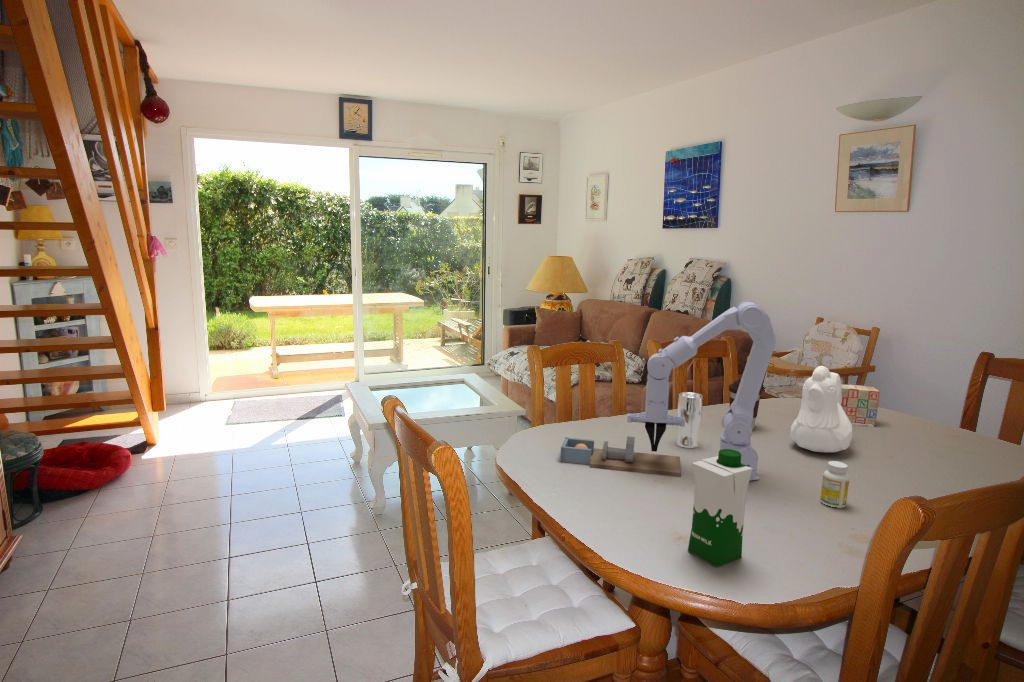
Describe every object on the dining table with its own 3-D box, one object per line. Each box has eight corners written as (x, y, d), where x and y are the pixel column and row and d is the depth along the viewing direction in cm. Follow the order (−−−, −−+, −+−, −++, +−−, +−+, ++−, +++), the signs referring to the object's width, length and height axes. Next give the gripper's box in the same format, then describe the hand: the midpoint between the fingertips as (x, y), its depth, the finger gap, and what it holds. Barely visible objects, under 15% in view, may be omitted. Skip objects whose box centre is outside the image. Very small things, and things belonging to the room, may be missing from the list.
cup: (593, 453, 170) (594, 440, 169) (590, 464, 162) (591, 450, 161) (564, 451, 172) (565, 437, 171) (560, 461, 164) (560, 447, 163)
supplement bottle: (828, 509, 138) (833, 468, 137) (815, 499, 144) (819, 459, 142) (851, 508, 139) (856, 468, 137) (836, 498, 144) (841, 459, 143)
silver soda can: (697, 441, 182) (700, 392, 180) (701, 449, 175) (705, 398, 173) (673, 440, 183) (676, 391, 180) (677, 448, 176) (680, 397, 173)
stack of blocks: (804, 421, 205) (808, 385, 203) (800, 416, 211) (804, 381, 209) (875, 427, 200) (880, 390, 198) (869, 422, 206) (874, 386, 204)
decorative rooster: (830, 464, 166) (841, 374, 162) (775, 447, 178) (784, 363, 174) (872, 446, 181) (883, 364, 176) (819, 432, 193) (828, 354, 189)
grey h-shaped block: (633, 454, 166) (634, 437, 166) (632, 462, 161) (633, 444, 160) (603, 451, 168) (604, 434, 167) (602, 459, 162) (602, 441, 161)
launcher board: (679, 460, 167) (679, 456, 167) (681, 476, 155) (681, 472, 155) (594, 451, 172) (594, 448, 172) (589, 467, 160) (589, 463, 160)
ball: (584, 463, 166) (593, 452, 165) (573, 458, 164) (581, 446, 163) (580, 455, 169) (588, 443, 168) (569, 449, 168) (577, 438, 167)
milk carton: (748, 558, 116) (758, 457, 113) (716, 571, 112) (725, 466, 108) (711, 538, 124) (719, 443, 120) (679, 550, 119) (687, 451, 116)
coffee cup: (718, 425, 199) (722, 379, 196) (741, 421, 203) (745, 377, 200) (741, 434, 190) (746, 387, 187) (765, 430, 194) (770, 384, 191)
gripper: (685, 398, 162) (682, 447, 164) (629, 394, 165) (626, 442, 167) (686, 405, 155) (683, 456, 157) (628, 401, 158) (625, 451, 161)
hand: (654, 450), depth 162 cm, fingers closed
